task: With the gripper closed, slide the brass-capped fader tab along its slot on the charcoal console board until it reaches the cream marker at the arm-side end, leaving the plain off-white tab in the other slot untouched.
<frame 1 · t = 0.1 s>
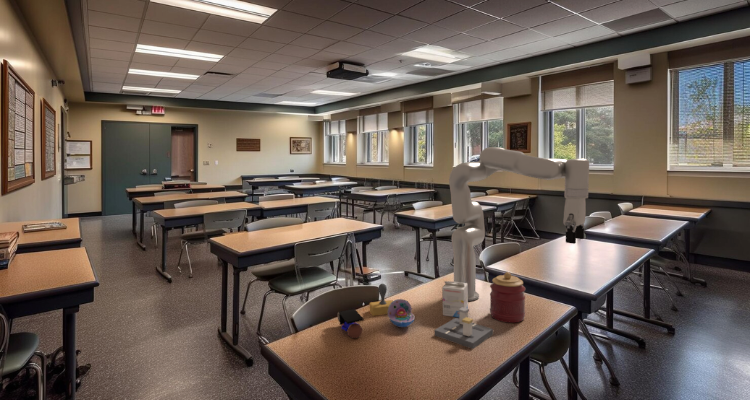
hand: (574, 240, 139), 31 cm above the table, tool pointing down, fingers open, 9 cm apart
console board: (463, 334, 135), on the table
cell model: (401, 326, 144), on the table
fader tab plain: (463, 316, 139), point 5 cm above the table, slide at -2.0 cm
fader tab brass: (467, 326, 130), point 5 cm above the table, slide at 3.5 cm
rubber stamp: (383, 312, 158), on the table
ink box: (455, 313, 155), on the table
canister: (507, 317, 151), on the table
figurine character: (350, 332, 140), on the table
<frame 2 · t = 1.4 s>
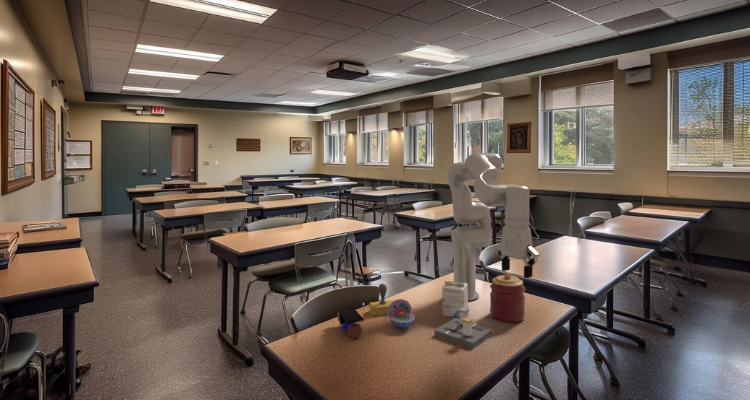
hand: (516, 273, 129), 23 cm above the table, tool pointing down, fingers open, 9 cm apart
nothing on the table moved.
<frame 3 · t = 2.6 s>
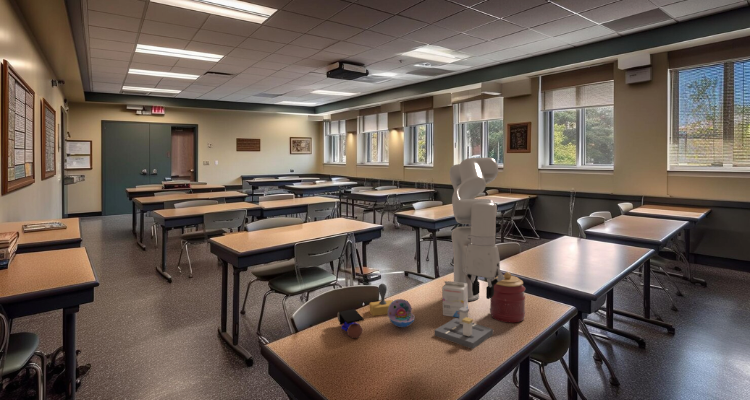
hand: (482, 295, 125), 17 cm above the table, tool pointing down, fingers open, 4 cm apart
nothing on the table moved.
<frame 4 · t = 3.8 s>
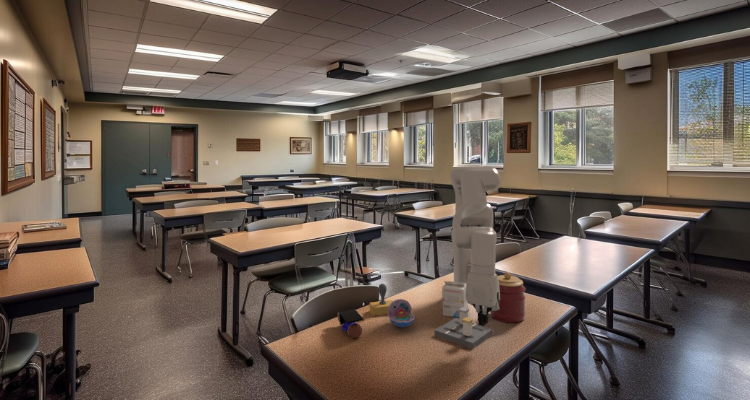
hand: (482, 324, 125), 8 cm above the table, tool pointing down, fingers closed
nothing on the table moved.
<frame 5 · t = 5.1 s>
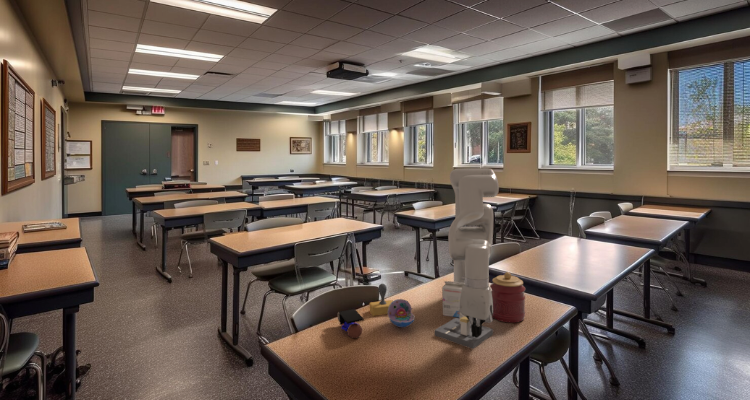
hand: (476, 335, 128), 3 cm above the table, tool pointing down, fingers closed
fader tab brass: (465, 326, 131), point 5 cm above the table, slide at 2.6 cm, touching gripper
everything else where it was.
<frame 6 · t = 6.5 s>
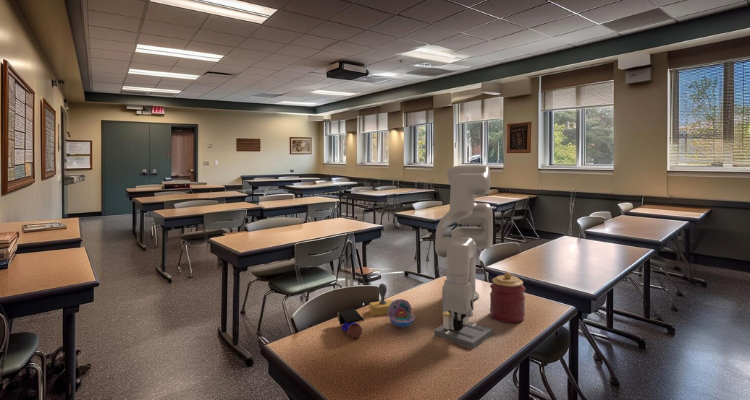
hand: (458, 329, 133), 3 cm above the table, tool pointing down, fingers closed
fader tab brass: (447, 320, 135), point 5 cm above the table, slide at -4.3 cm, touching gripper
everything else where it was.
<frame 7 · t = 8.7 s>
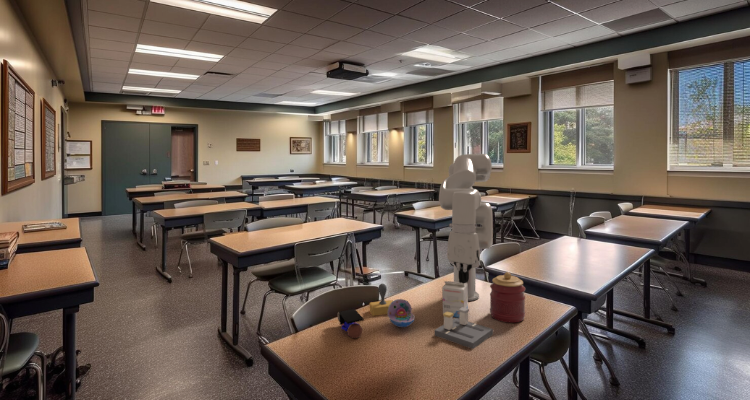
hand: (463, 282, 130), 20 cm above the table, tool pointing down, fingers closed
fader tab brass: (448, 320, 135), point 5 cm above the table, slide at -4.0 cm
everything else where it was.
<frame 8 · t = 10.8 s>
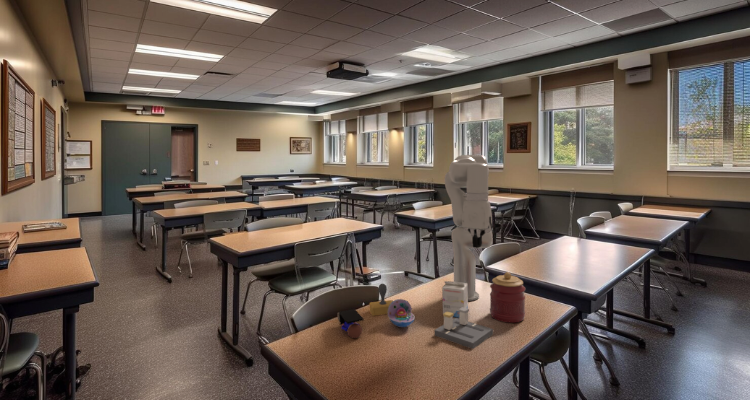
hand: (477, 246, 142), 29 cm above the table, tool pointing down, fingers closed
nothing on the table moved.
at the end: fader tab brass slide at -4.0 cm; fader tab plain slide at -2.0 cm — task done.
